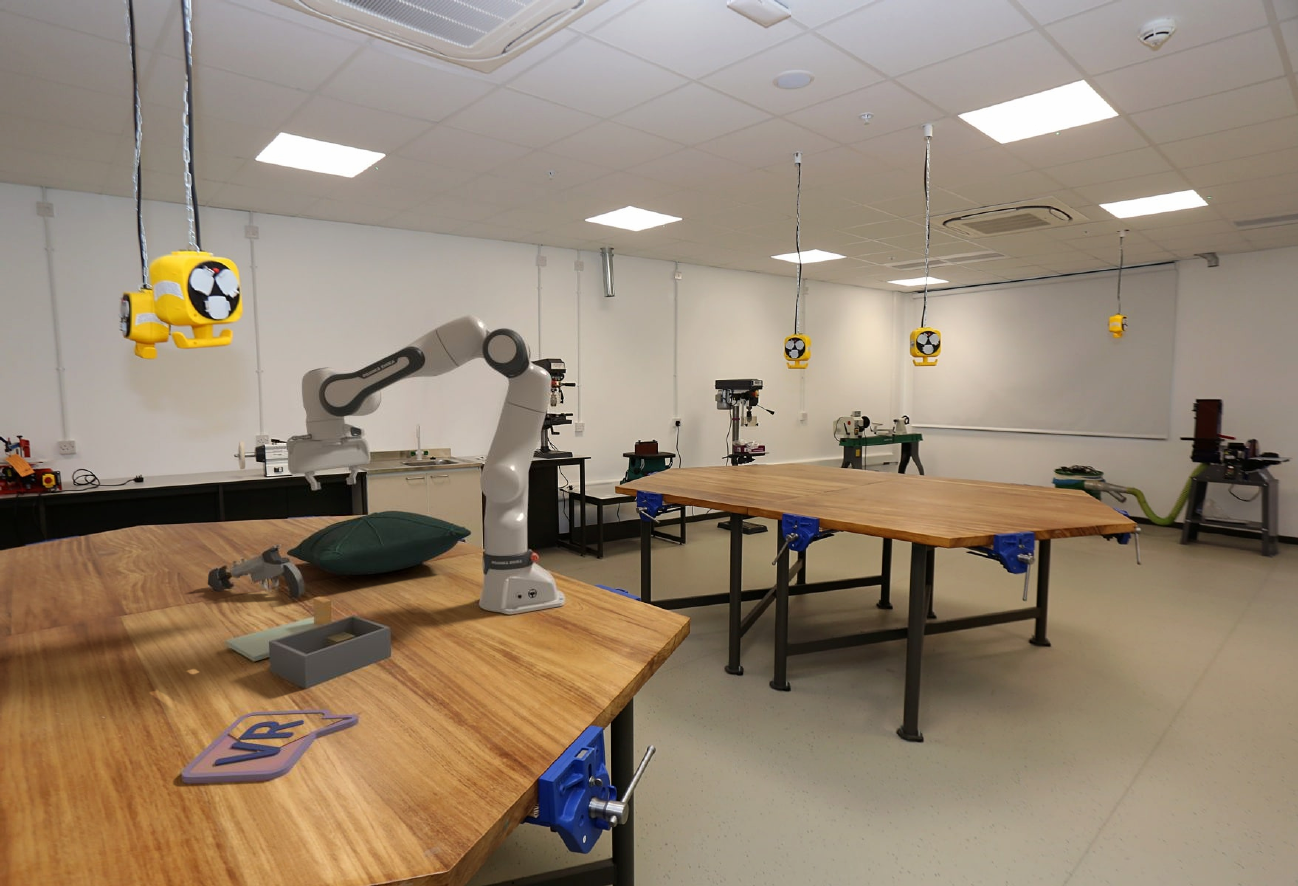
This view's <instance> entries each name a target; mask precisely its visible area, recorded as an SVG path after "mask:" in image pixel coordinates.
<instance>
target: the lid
mask: <svg viewBox="0 0 1298 886" xmlns="http://www.w3.org/2000/svg"><path fill="white" fill-rule="evenodd" d="M312 601H313V605H312V606H313V616H312V617H309V618H305V619H301V620H296V621H293V622H289V623H285V624H282V625H278V626H275V627H271V628H268V629H264V630H260V631H256V632H252V633H249V634H245V635H241V636H238V637H234V638H230V639H226V640H225V646H226V647H228V648H230V649H232V650H234V651H235V652H237V653H238V654H240V655H242V656H244V657H246V658H247V659H249V660H251V661H252V662H257V661H260V660H264V659H267V658H270V657H269V641H272V640H275V639H278V638H282V637H285V636H288V635H291V634H295V633H298V632H301V631H304V630H308V629H311V628H314V627H318V626H321V625H324V624H327V623H331V622H333V621H332V600H331V599H328V598H325V597H323V596H316V597H313V598H312Z"/></svg>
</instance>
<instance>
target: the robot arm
mask: <svg viewBox="0 0 1298 886" xmlns="http://www.w3.org/2000/svg"><path fill="white" fill-rule="evenodd" d="M480 358H481V359H483V360H484V361H485V363H486V364H487V365H488V366H489V367H490V368H492V369H493V370H494V371H496V372H498V373H499V374H501V375H502V376H503V377H505V378H507V380H508V389H507V392H506V396H505V399H504V401H503V402H504V403H503V406H502V410H501V413H500V416H499V419H498V423H497V427H496V430H495V433H494V436H493V439H492V442H491V444H490V448H489V450H488V453H487V456H486V458H485V462H484V465H483V468H482V470H481V475H480V479H479V480H480V481H479V482H480V483H479V484H480V488H481V489H480V490H481V491H482V494H483V495H484V496H485V512H484V521H483V529H484V530H483V532H484V533H483V535H484V537H483V538H484V540H483V541H484V544H483V545H484V550H483V552H482V561H481V562H482V563H481V564H482V565H481V566H482V572H483V573H482V574H483V581H482V582H483V583H482V589H481V595H480V599H479V602H478V606H479V608H481V609H483V610H486V611H489V612H496V613H501V614H504V615H516V614H522V613H527V612H533V611H534V612H535V611H539V610H540V611H541V610H545V609H551V608H557V607H562V606H564V605H565V603H566V596H565V594H564V593H563V592H562V591H561V590H559V589H558V588H557V583H556V580H555V579H554V576H553V575H552V574H551V573H550V572H549V571H547V570H545V569H544V568H543V567H541V566H540V565H538V564H537V563H538V561H539V558H540V557H539V555H538V553H536V552H535V551H533V550H532V549H529V548H528V509H529V506H528V504H529V470H530V467H531V464H532V461H533V458H534V455H535V451H536V448H537V445H538V443H539V439H540V436H541V434H542V433H541V431H542V430H543V429H542V428H543V426H544V422H545V419H546V414H547V411H548V407H549V403H550V399H551V392H552V375H550V373H549V372H548V371H547V370H546V369H545V368H543V367H541V366H539V365H537V364H534V363H532V361H531V350H530V346H529V344H528V342H527V340H526V339H525V338H524V336H523V335H521V334H520V333H518V332H517V331H515V330H513V329H511V328H504V327H503V328H502V327H501V328H497V329H495V330H492V331H491V330H490V329H489V328H488V326H487V324H486V323H485V322H484V321H483V320H482V319H481V318H479V317H478V316H476V315H470V314H469V315H465V316H462V317H459V318H456V319H453V320H451V321H449V322H446V323H443V324H442V325H440V326H437V327H436V328H434V329H431V330H430V331H428V332H427V333H426V334H423V335H422V336H421V337H419V338H418V339H415V341H413V342H411V343H410V344H408V345H406V346H405V347H402V348H401V349H399V350H398V351H395V352H394V353H391V354H389V355H388V356H386V357H384V358H381V359H380V360H377V361H375V362H373V363H371V364H369V365H367V366H365V367H363V368H361V369H359V370H357V371H353V372H347V373H343V372H339V371H338V370H336V369H335V368H332V367H322V368H321V367H320V368H315V369H312V370H310V371H307V372H306V373H305V374H304V375H303V376H302V379H301V398H302V404H303V405H302V406H303V409H304V410H305V415H306V419H305V425H306V427H305V428H306V433H307V434H301V435H292V436H291V437H289V438H288V439H287V441H286V442H285V443H286V444H285V445H286V451H287V469H288V471H289V472H290V473H291V474H293V475H296V474H303V473H304V478H305V479H306V481H308V483H310V487H311V488H310V489H311V490H312V491H317V490H318V491H319V490H321V489H322V486H321V482H320V481H318V482H317V480H316V479H315V475H316V474H315V473H316V472H318V471H327V470H334V469H340V468H341V469H342V468H348V471H349V472H350V473H349V476H348V477H346V479H345V480H346V484H347V485H349V486H350V485H356V484H357V480H356V477H357V474H358V472H359V466H363V465H368V464H370V462H371V451H370V447H369V442H368V440H367V439H366V438H365V437H364V436H365V434H366V431H365V428H363V427H361V426H356V425H351V424H348V423H346V421H345V417H348V416H349V417H351V416H352V417H365V416H368V415H370V414H372V413H374V412H375V411H377V410H378V408H379V407H380V404H381V401H382V395H381V390H384V389H386V388H387V387H389V386H391V385H393V384H396V383H398V382H400V381H402V380H406V379H410V378H418V377H421V378H422V377H424V378H426V377H430V378H431V377H437V376H441V375H444V374H446V373H450V372H452V371H453V370H456V369H457V368H459V367H461V366H464V365H465V364H466V363H468V362H470V361H472V360H475V359H480ZM536 562H537V563H536Z"/></svg>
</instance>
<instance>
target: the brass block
mask: <svg viewBox="0 0 1298 886" xmlns="http://www.w3.org/2000/svg"><path fill="white" fill-rule="evenodd" d="M353 638H356V637H355V636H354V635H352V634H349V633H346V632H343V633H340V634H337V635H333V636H330V637H327V638H326V640H327V647H330V646H333V645H336V644H338V643H341V642H344V641H347V640H350V639H353Z"/></svg>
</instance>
